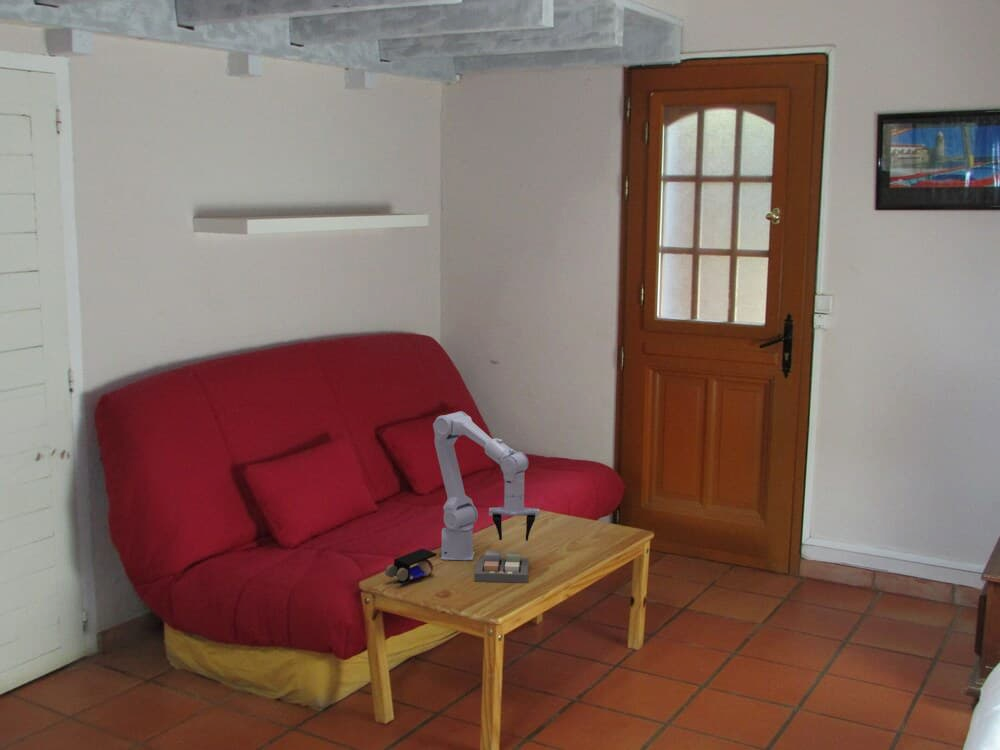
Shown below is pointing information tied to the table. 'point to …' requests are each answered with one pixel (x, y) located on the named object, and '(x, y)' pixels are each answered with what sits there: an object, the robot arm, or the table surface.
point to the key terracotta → (491, 566)
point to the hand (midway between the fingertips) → (513, 539)
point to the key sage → (513, 557)
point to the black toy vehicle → (404, 562)
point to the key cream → (511, 566)
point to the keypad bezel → (502, 572)
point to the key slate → (492, 556)
